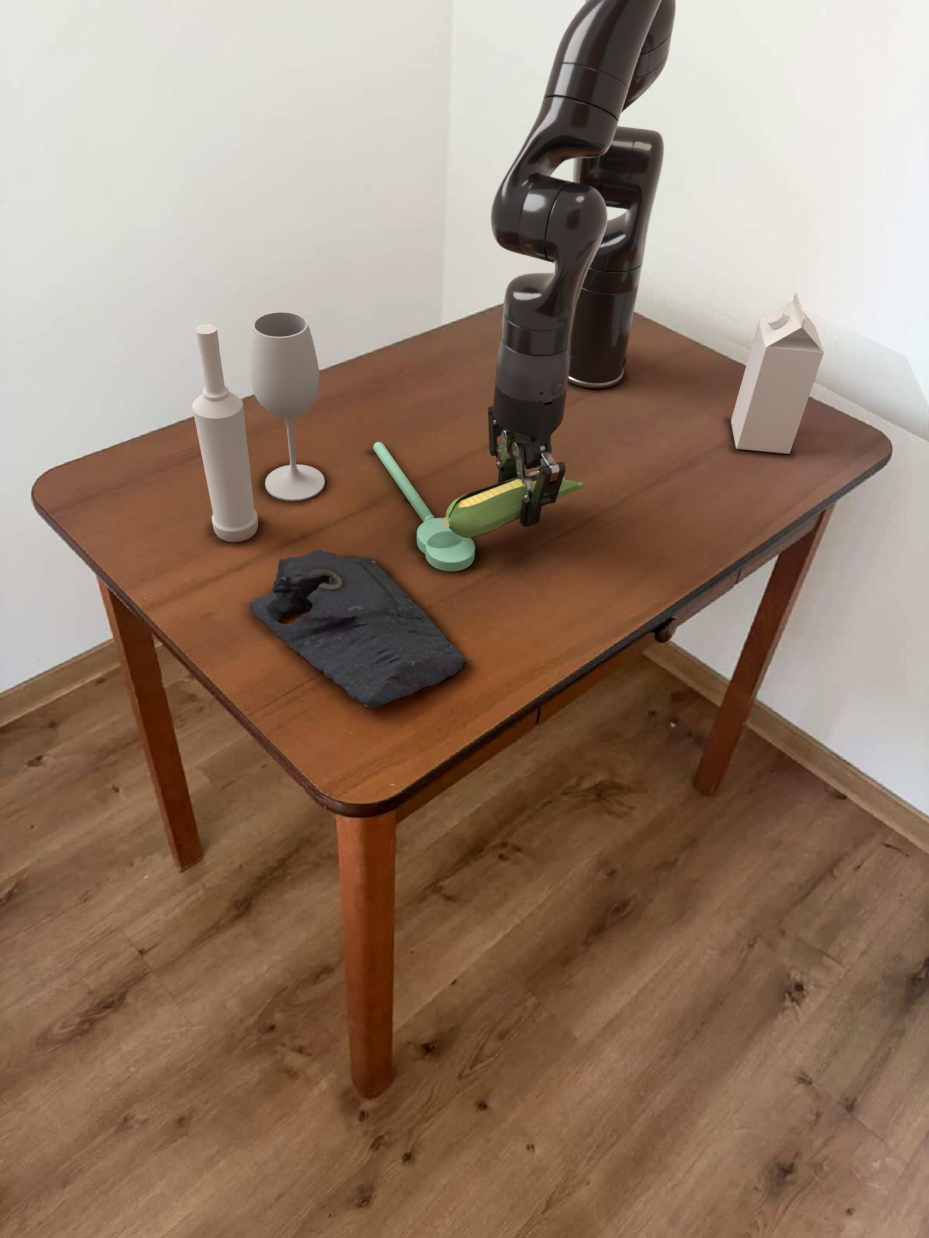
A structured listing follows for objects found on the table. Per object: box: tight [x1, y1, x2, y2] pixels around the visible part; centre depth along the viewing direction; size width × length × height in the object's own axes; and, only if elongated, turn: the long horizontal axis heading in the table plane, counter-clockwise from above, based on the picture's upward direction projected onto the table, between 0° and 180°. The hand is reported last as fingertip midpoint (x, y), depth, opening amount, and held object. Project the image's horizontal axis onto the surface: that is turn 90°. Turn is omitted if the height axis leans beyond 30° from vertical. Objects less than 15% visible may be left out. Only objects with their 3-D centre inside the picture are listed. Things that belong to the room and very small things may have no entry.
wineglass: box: [249, 311, 326, 502], centre depth 111 cm, size 8×8×21 cm
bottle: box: [191, 323, 259, 543], centre depth 103 cm, size 5×5×25 cm
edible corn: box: [442, 461, 584, 539], centre depth 110 cm, size 5×20×5 cm, turn 125°
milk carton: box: [730, 292, 825, 455], centre depth 124 cm, size 7×7×19 cm
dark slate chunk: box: [249, 549, 469, 709], centre depth 98 cm, size 15×22×5 cm
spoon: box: [373, 441, 476, 572], centre depth 116 cm, size 26×6×1 cm, turn 25°
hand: (517, 509), depth 111 cm, fingers closed on edible corn, 5 cm apart
